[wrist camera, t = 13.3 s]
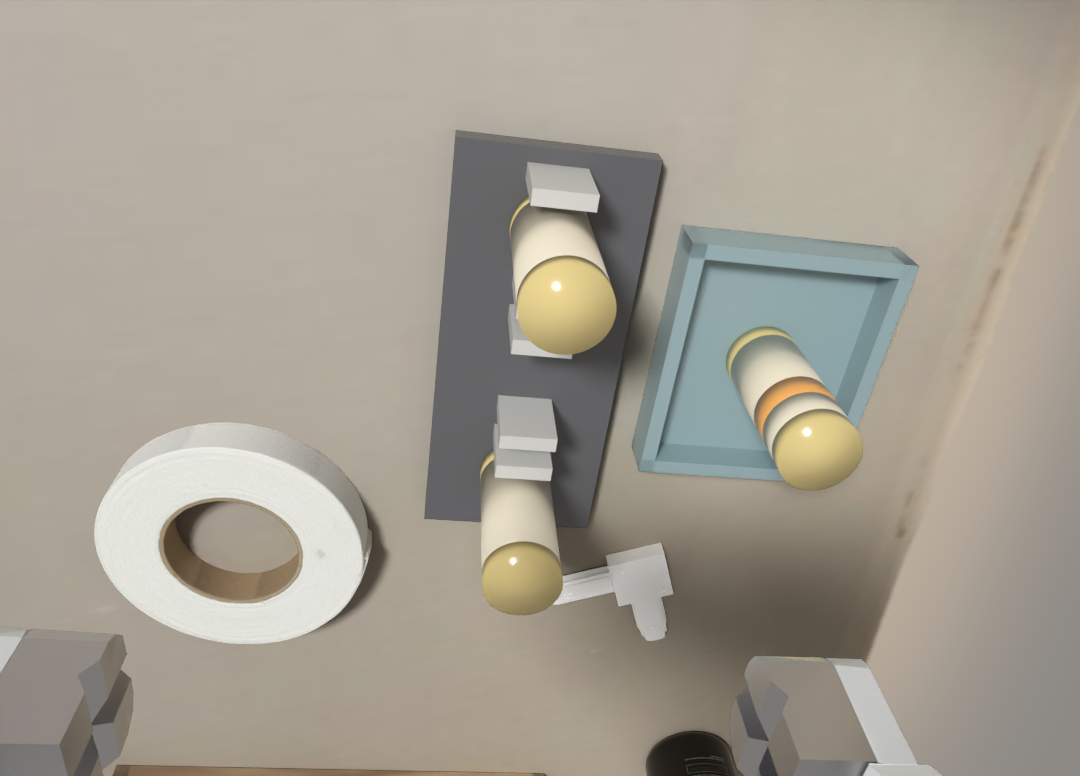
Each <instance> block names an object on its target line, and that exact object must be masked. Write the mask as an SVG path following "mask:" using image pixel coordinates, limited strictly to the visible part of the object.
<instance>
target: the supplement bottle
mask: <svg viewBox="0 0 1080 776" xmlns="http://www.w3.org/2000/svg"><path fill="white" fill-rule="evenodd" d="M646 774H647V776H737V773H736V769H735V766H734V763H733V759H732V756H731V753H730V751H729V748H728V747H727V745H726V744H725V743H724V742H723V741H722V740H721V739H719V738H718V737H716V736H714V735H711V734H708V733H704V732H685V733H680V734H676V735H673V736H670V737H668V738H666V739H664V740H662V741H661V742H659V743H658V744H657V745H656V746H655V747H654V748H653V749H652V750H651V752H650V753H649V755H648V757H647V760H646Z"/></svg>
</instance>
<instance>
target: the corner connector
mask: <svg viewBox="0 0 1080 776" xmlns="http://www.w3.org/2000/svg"><path fill="white" fill-rule="evenodd" d="M606 560H607V565H608V566H604V567H599V568H595V569H590V570H586V571H582V572H577V573H573V574H569V575H564V576H562V578H563V589H562V592H561V594H560V596H559V598H558V599H557V600H556V601H555V602H554V603H553V604H554V605H558V604H563V603H567V602H572V601H576V600H580V599H585V598H589V597H594V596H598V595H602V594H607V593H611V592H615V595H616V598H617V602H618V606H624V605H628V604H631V605H632V609H633V613H634V617H635V621H636V624H637V627H638V629H639V630H640V631H641V635H642V636H645V639H646V640H647V641H654V640H659V639H662V638H664V637H665V631H667V629H666V622H667V619H666V615H665V610H664V606H663V602H662V598H661V597H663V596H668V595H672V594H673V590H672V585H671V581H670V576H669V572H668V567H667V563H666V558H665V554H664V551H663V547H662V544H661V543H657V544H653V545H648V546H644V547H640V548H635V549H631V550H627V551H623V552H618V553H614V554H610V555H606Z"/></svg>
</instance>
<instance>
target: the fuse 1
mask: <svg viewBox="0 0 1080 776" xmlns="http://www.w3.org/2000/svg"><path fill="white" fill-rule="evenodd" d="M509 233H510V243H511V253H512V263H513V273H514V283H515V293H516V302H517V312H518V320H519V324H520V327H521V329H522V331H523V333H524V335H525V336H526V337H527V338H528V340H529V341H530V342H531V343H533V344H534V345H535V346H537V347H538V348H540V349H542V350H544V351H546V352H549V353H553V354H559V355H570V354H576V353H580V352H583V351H586V350H588V349H590V348H592V347H594V346H595V345H597V344H598V343H599V342H601V341H602V340H603V339H604V338H605V336H606V335H607V334H608V333H609V331H610V329H611V328H612V326H613V323H614V320H615V317H616V298H615V295H614V292H613V289H612V286H611V283H610V280H609V277H608V274H607V272H606V269H605V266H604V263H603V260H602V257H601V254H600V251H599V248H598V245H597V242H596V239H595V236H594V233H593V231H592V228H591V225H590V222H589V219H588V216H587V213H586V211H577V210H567V209H558V208H549V207H539V206H530V201H529V196H527V197H526V198H524V199H523V200H522V201H521V202H520V203H519V204H518V205H517V207H516V208H515V210H514V212H513V214H512V216H511V219H510V224H509Z"/></svg>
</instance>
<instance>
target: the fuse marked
mask: <svg viewBox="0 0 1080 776" xmlns="http://www.w3.org/2000/svg"><path fill="white" fill-rule="evenodd" d="M726 369H727V372H728V374H729V376H730V378H731V380H732V382H733V384H734V386H735V388H736V390H737V392H738V393H739V395H740V397H741V399H742V401H743V403H744V405H745V407H746V409H747V411H748V413H749V414H750V416H751V418H752V420H753V422H754V424H755V426H756V428H757V430H758V432H759V434H760V436H761V437H762V439H763V441H764V443H765V445H766V447H767V449H768V451H769V453H770V455H771V457H772V458H773V460H774V462H775V464H776V466H777V468H778V470H779V472H780V474H781V476H782V477H783V479H784V480H785V481H786V482H787V483H789V484H790V485H792V486H794V487H796V488H799V489H803V490H820V489H825V488H828V487H831V486H833V485H836V484H838V483H839V482H841V481H843V480H844V479H845V478H847V477H848V476H849V475H850V474H851V473H852V472H853V471H854V470H855V468H856V467H857V466H858V464H859V462H860V460H861V457H862V453H863V442H862V439H861V436H860V435H859V433H858V431H857V430H856V429H855V427H854V426H853V424H852V423H851V422H850V420H849V419H848V417H847V416H846V414H845V413H844V412H843V410H842V409H841V407H840V406H839V404H838V403H837V402H836V400H835V399H834V397H833V396H832V394H831V393H830V392H829V390H828V389H827V387H826V386H825V385H824V383H823V382H822V380H821V379H820V377H819V376H818V375H817V373H816V372H815V370H814V369H813V367H812V366H811V365H810V363H809V362H808V360H807V359H806V357H805V356H804V355H803V353H802V352H801V350H800V349H799V348H798V346H797V345H796V343H795V342H794V340H793V339H792V338H791V336H790V335H789V334H788V333H787V332H785V331H783V330H782V329H779V328H776V327H771V326H764V327H757V328H754V329H751V330H749V331H747V332H745V333H743V334H742V335H741V336H739V337H738V338H737V339H736V340H735V341H734V343H733V344H732V345H731V347H730V349H729V351H728V353H727V357H726Z"/></svg>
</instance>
